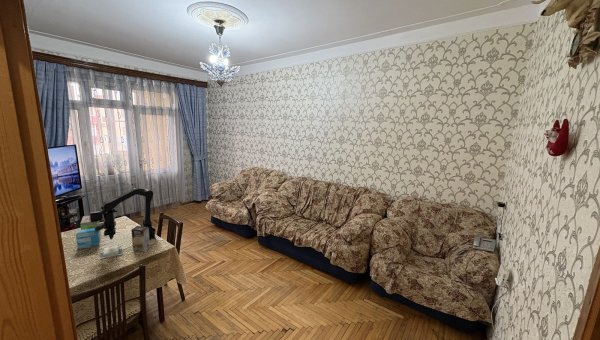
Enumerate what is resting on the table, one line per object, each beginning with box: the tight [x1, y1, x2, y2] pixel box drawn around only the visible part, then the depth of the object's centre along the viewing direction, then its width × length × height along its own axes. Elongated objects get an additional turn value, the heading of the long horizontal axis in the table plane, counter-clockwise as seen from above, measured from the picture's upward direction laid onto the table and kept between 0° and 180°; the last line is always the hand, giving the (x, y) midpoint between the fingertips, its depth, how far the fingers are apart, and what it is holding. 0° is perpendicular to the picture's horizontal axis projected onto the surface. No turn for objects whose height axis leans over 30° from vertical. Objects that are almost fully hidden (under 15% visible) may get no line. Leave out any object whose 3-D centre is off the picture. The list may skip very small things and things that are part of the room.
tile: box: [103, 245, 120, 257], centre depth 174 cm, size 8×2×9 cm
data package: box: [75, 228, 100, 249], centre depth 180 cm, size 12×4×12 cm, turn 126°
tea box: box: [79, 215, 101, 235], centre depth 193 cm, size 15×10×15 cm
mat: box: [99, 247, 123, 261], centre depth 173 cm, size 12×10×1 cm
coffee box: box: [131, 225, 151, 252], centre depth 180 cm, size 9×6×16 cm
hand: (111, 239), depth 179 cm, fingers closed
